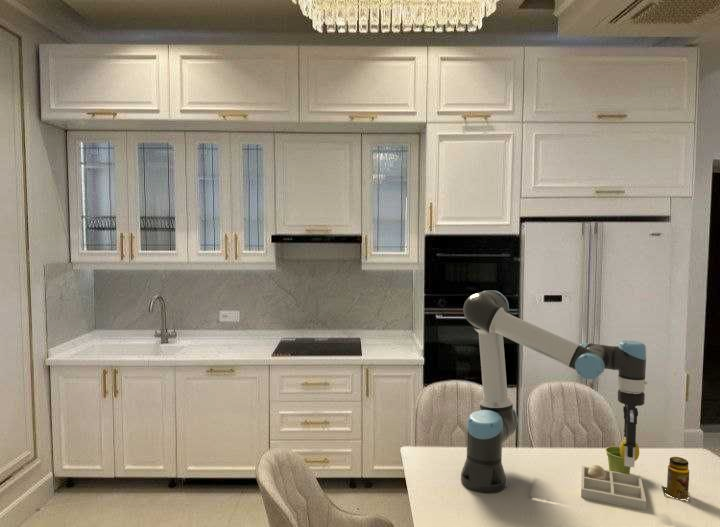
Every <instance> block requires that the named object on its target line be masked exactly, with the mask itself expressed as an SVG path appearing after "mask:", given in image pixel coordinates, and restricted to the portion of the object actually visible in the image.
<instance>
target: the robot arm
mask: <svg viewBox="0 0 720 527" xmlns="http://www.w3.org/2000/svg"><path fill="white" fill-rule="evenodd" d="M509 310H510V306H509V301H508V299H507V297H506V296H505V295H503V293H501V292H499V291H498V290H489V289H488V290H483V291H480V292H477V293H473V294H471V295H470V296H468V298H466V300H465V301H464V304H463V309H462V311H463V314H464V317H465V320H466V321H467V322H468V323H469V324H470V325H472V326H473V329H474V330H475V332H477V333H478V343H479V344H478V346H479V356H480V367H481V368H480V371H481V382H482V393H483V398H482V399H481V400H480V402H479V410H476V411H473V412H471V413H470V414H469V416H468V417H467V422H466V458H465V461H464V465H463V467H462V470H461V474H460V481H461V484H462V485H463V486H464V487H466V488H467V489H469V490H472V491H475V492H478V493H488V494H491V493H499V492H502V491H503V490H504V489H506V487H507V476H506V473H505V470H504V466H503V462H502V457H503V456H502V455H503V453H502V452H503V451H502V450H503V444H504V443H505V442H506V441H508V439H509V437H511V436H512V435H513V434H514V433H515V431H516V430H517V426H518V423H519V420H518V415H517V413H516V410H515V409H514V402H513V401H512V400H511V399H510V398H509V397H508V386H507V384H508V383H507V371H506V358H505V347H504V346H505V345H504V344H505V343H504V338H505V339H508V340H510V341H513V342H514V343H516V344H519V345H521V346H523V347H525V348H528V349H530V350H532V351H534V352H535V353H538V354H541V355H542V356H545V357H547V358H549V359H551V360H553V361H556V362H557V363H560V364H562V365H564V366H566V367H568V368H570V369H572V370H574V371H575V372H576V373H577V375H579V377H581V378H582V379H585V380H593V379H596V378H598V377H599V376H601V375H602V374H603V373H604V372H605V370H613V371H618V376H617V388H618V390H617V401H618V402H619V403H620V404H623V405H624V406H623V407H622V408H623V409H622V410H623V419H624V423H623V424H624V428H623V440H625V439H626V443H625V444H623V446H625V464H624V465H625V466H628V467H631V468H635V463H636V462H635V447H636V443H637V442H636V441H637V438H636V437H637V425H638V417H639V411H638V407H641V406H644V404H645V398H646V395H645V388H646V385H648V382H647V381H645V380H646V370H647V368H646V366H647V347H646V344H644V343H643V342H640V341H635V340H621V341H620V342H619V344H618V346H616V345H615V346H614V345H606V344H605V345H604V344H599V343H598V344H597V343H592V342H590V343H588V342H586V343H585V342H583V343H580V344H577V343H576V342H573V341H571V340H569V339H567V338H564V337H561V336H559V335H557V334H556V333H552V332H550V331H549V330H546V329H544V328H542V327H539V326H537V325H535V324H532V323H531V322H528V321H526V320H524V319H521V318H519V317H517V316H515V315H512V314H510V313H509ZM637 406H638V407H637Z"/></svg>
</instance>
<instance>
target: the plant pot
mask: <svg viewBox="0 0 720 527" xmlns="http://www.w3.org/2000/svg"><path fill="white" fill-rule="evenodd" d="M604 450H605V452H606V456H607V461H608V471H614V472H620V473H625V474H630V471H631V468H632V467H628V466H625V465H624V464H625V460H624V459H623V458H622V456H621V454H620V446H608V447H606V448H605V449H604Z"/></svg>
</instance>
